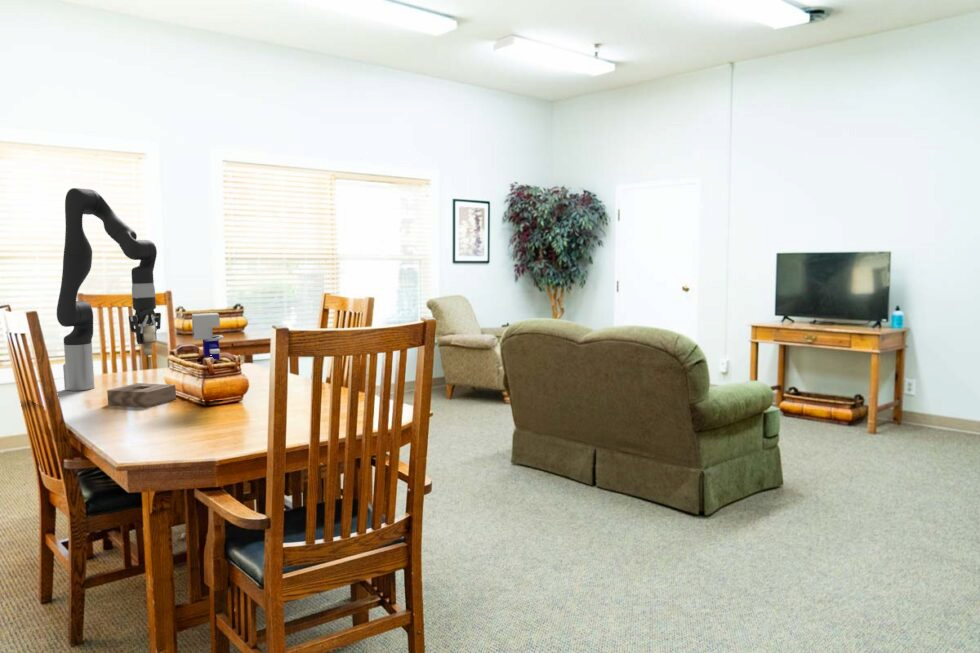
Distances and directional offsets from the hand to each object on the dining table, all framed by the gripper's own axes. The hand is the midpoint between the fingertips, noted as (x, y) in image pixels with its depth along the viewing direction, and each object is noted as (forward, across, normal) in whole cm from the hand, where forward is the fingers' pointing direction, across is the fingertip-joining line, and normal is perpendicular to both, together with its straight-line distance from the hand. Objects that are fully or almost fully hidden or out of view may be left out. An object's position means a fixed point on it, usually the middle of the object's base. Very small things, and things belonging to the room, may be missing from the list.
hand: (146, 342), depth 267 cm
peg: (+4, 0, 0) cm, 4 cm away
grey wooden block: (+19, +12, +6) cm, 23 cm away
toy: (+20, +3, +27) cm, 34 cm away
